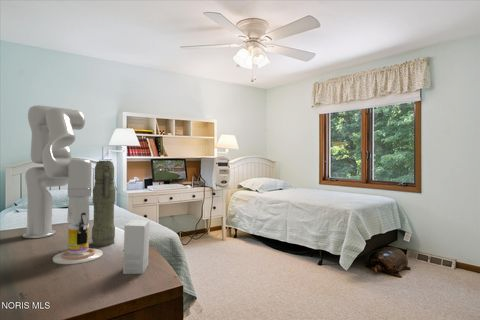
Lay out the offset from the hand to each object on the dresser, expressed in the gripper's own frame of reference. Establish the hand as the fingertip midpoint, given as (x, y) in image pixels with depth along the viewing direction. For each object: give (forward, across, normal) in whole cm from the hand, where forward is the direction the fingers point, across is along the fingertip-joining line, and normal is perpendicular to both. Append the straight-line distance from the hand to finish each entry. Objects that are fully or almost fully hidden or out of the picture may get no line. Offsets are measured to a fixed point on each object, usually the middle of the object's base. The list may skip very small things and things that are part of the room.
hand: (78, 241), depth 109 cm
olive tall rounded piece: (+6, -12, +13) cm, 18 cm away
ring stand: (+6, 0, 0) cm, 6 cm away
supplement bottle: (+4, 0, 0) cm, 4 cm away
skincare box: (+6, +26, +10) cm, 29 cm away
